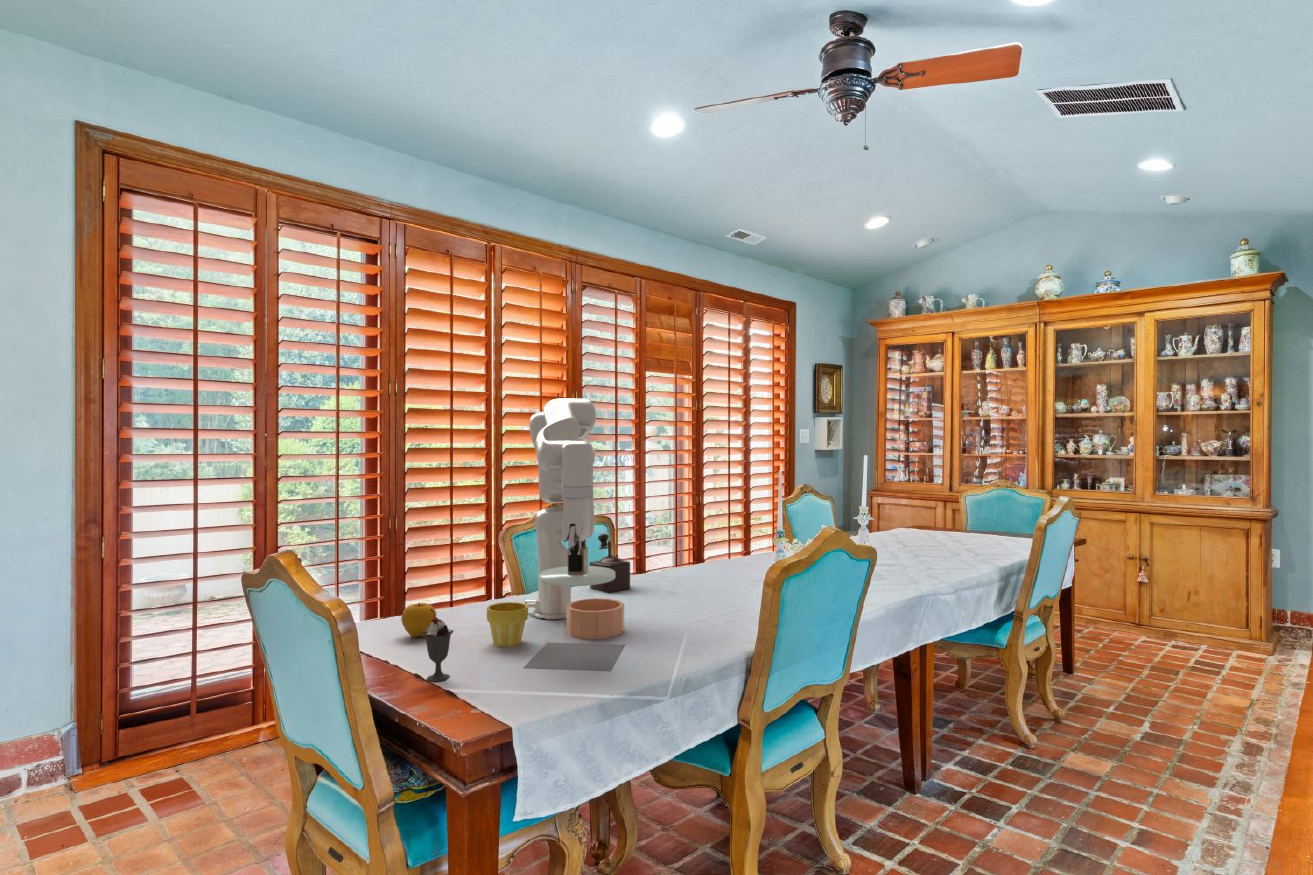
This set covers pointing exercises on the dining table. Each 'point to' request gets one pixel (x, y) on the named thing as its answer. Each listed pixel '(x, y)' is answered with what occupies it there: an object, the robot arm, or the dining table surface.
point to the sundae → (437, 646)
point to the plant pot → (507, 622)
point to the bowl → (595, 618)
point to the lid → (578, 574)
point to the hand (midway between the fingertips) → (577, 568)
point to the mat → (576, 656)
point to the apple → (417, 618)
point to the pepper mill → (615, 564)
